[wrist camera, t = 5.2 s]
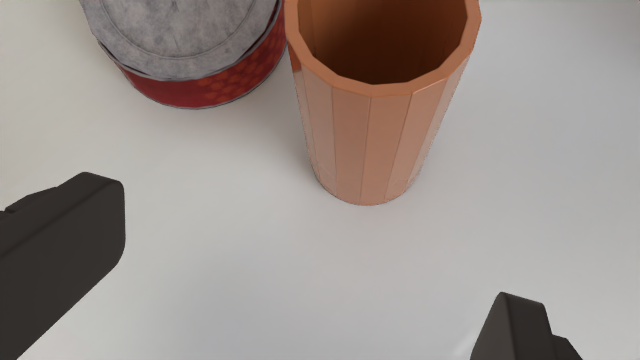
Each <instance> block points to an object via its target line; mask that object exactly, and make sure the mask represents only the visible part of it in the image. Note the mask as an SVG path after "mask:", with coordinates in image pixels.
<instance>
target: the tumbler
mask: <svg viewBox="0 0 640 360" xmlns="http://www.w3.org/2000/svg"><path fill="white" fill-rule="evenodd" d="M284 17H285V35H286V40H287V45H288V51H289V56H290V61H291V66H292V71H293V76H294V81H295V86H296V91H297V97H298V102H299V107H300V112H301V117H302V122H303V127H304V132H305V138H306V143H307V148H308V153H309V158H310V162H311V165H312V167H313V170H314V173H315V175H316V177H317V179H318V180H319V182H320V183H321V184H322V186H323V187H324V188H325V189H326V190H327V191H328V192H329V193H331V194H332V195H334V196H335V197H337V198H339V199H340V200H343V201H345V202H348V203H351V204H355V205H378V204H382V203H386V202H388V201H390V200H393V199H395V198H396V197H398V196H400V195H401V194H402V193H403V192H405V191H406V190H407V189H408V188H409V187H410V185H411V184H412V183H413V181H414V180H415V178H416V177H417V176H418V174H419V172H420V170H421V167H422V165H423V163H424V160H425V158H426V156H427V154H428V151H429V149H430V147H431V144H432V142H433V140H434V138H435V135H436V133H437V131H438V128H439V126H440V124H441V122H442V119H443V117H444V115H445V112H446V110H447V108H448V106H449V103H450V101H451V99H452V97H453V94H454V92H455V90H456V87H457V85H458V83H459V81H460V78H461V76H462V74H463V71H464V69H465V67H466V65H467V62H468V60H469V58H470V55H471V53H472V51H473V48H474V44H475V41H476V38H477V34H478V31H479V27H480V24H481V18H482V17H481V12H480V7H479V2H478V0H285V3H284Z"/></svg>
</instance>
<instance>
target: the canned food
mask: <svg viewBox="0 0 640 360" xmlns="http://www.w3.org/2000/svg"><path fill="white" fill-rule="evenodd" d="M79 1H80V3H81V6H82V8H83V10H84V12H85V15H86V17H87V20H88V23H89V26H90V28H91V31H92V33H93V34H94V35H95V36H96V38H97V40H98V43H99V45H100V46H101V48H102V49H103V50H104V51H105V52H106V54H107V55H108V56H109V57H110V59H112V60H113V61H114V62H115V63H116V65H117V66H118V67H119V68H120V69H121V71H122V72H123V73H124V75H125V77H126V78H127V79H128V80H129V81H130V83H131V84H132V85H133V86H134V87H135V88H136V89H137V90H138V91H140V92H141V93H142V94H144V95H145V96H146V97H148V98H150V99H152V100H154V101H156V102H159V103H161V104H164V105H168V106H172V107H176V108H185V109H201V108H209V107H216V106H219V105H222V104H225V103H228V102H232V101H234V100H236V99H238V98H240V97H242V96H244V95H245V94H247V93H249V92H250V91H252V90H253V89H254V88H256V87H257V86H258V85H260V84H261V83H262V82H263V81H264V80H265V79H266V78H267V77H268V75H269V74H270V73H271V72H272V71H273V70H274V68H275V67H276V65H277V63H278V62H279V60H280V58H281V57H282V55H283V52H284V49H285V46H286V43H287V40H286V35H285V17H284V3H285V0H79Z"/></svg>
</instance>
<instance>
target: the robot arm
mask: <svg viewBox="0 0 640 360" xmlns="http://www.w3.org/2000/svg"><path fill="white" fill-rule="evenodd" d="M125 239H126V238H125V200H124V188H123V185H122V183H121V182H119V181H117V180H114V179H110V178H107V177H103V176H100V175H96V174H93V173H89V172H82V173H80V174H78V175H76V176H74V177H73V178H71V179H69V180H68V181H66V182H64V183H63V184H61V185H59V186H58V187H53V188H50V189H46V190H43V191H40V192H36V193H33V194H30V195H27V196H25V197H24V198H22V199H20V200H18V201H17V202H15V203H13V204H11V205H10V206H8V207H6V208H5V211H0V360H17V359H18V358H19V357H20V356H21V355H22V354H23V353H24V352H25V351H26V350H27V349H28V348H29V347H30V346H31V345H32V344H34V343H35V342H36V341H37V340H38V339H39V338H40V337H41V336H42V335H43V334H44V333H45V332H46V331H47V330H48V329H49V328H51V327H52V326H53V325H54V324H55V323H56V322H57V321H58V320H59V319H60V318H61V317H62V316H63V315H64V314H65V313H66V312H67V311H69V310H70V309H71V308H72V307H73V306H74V305H75V304H76V303H77V302H78V301H79V300H80V299H81V298H82V297H83V296H84V295H86V294H87V293H88V292H89V291H90V290H91V289H92V288H93V287H94V286H95V285H96V284H97V283H98V282H99V281H100V280H101V279H103V278H104V277H105V276H106V275H107V274H108V273H109V272H110V271H111V270H112V269H113V268H114V267H115V266H116V265H117V263H118V262H119V260H120V258H121V256H122V254H123V251H124V247H125ZM470 360H583V359H582V358H581V357H580V355H579V354H578V353H577V351H576V350H575V349H574V347H573V346H572V345H571V344H570V342H569V341H568V340H567V339H566V338H563V337H560V336H556V335H553V334H552V332H551V328H550V325H549V321H548V317H547V313H546V310H545V307H544V305H543V304H542V303H539V302H536V301H532V300H529V299H525V298H522V297H519V296H515V295H512V294H508V293H505V292H500V293H499V294H498V295H497V297H496V299H495V301H494V303H493V305H492V307H491V310H490V312H489V314H488V316H487V319H486V321H485V323H484V325H483V328H482V330H481V332H480V334H479V337H478V339H477V341H476V343H475V346H474V348H473V351H472V354H471V357H470Z"/></svg>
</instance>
